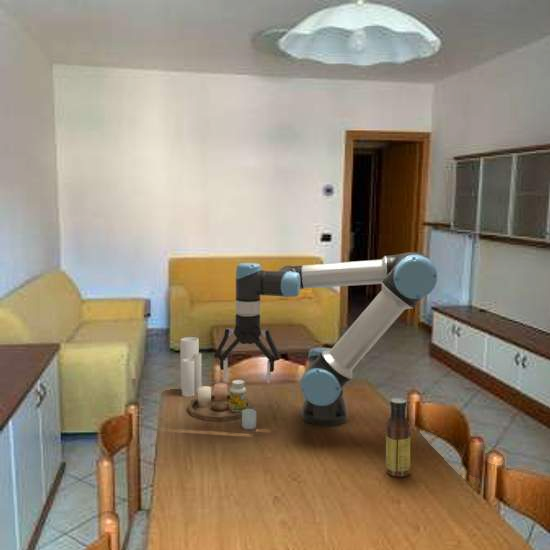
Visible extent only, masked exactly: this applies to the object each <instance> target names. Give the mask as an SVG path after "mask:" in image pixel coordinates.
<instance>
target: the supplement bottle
mask: <svg viewBox="0 0 550 550" xmlns="http://www.w3.org/2000/svg"><path fill="white" fill-rule="evenodd" d="M231 386H232V387H230V390H229V394H230V410H231V411H233V412H242V411H243V410H245V409H246V398H247V388H246V387H245V381H244V380H241V379H236V380H235V379H234V380H232V382H231Z"/></svg>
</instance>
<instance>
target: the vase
mask: <svg viewBox="0 0 550 550" xmlns="http://www.w3.org/2000/svg"><path fill="white" fill-rule="evenodd" d="M199 340H200V339H199V338H198V337H195V336H192V337H191V336H186V337H181V338H180V340H179V342H180V343H179V344H180V355H179V357H180V359H179V360H180V365H179V366H180V391H181V396H182V397H186V398H189V397H190V398H191V397H193V396H195V394H198V388H199V387H201V386H203V385H202V384H203V383H202V353H201V352H199V351H200V350H199V349H200V348H199V347H200V346H199V345H200V343H199Z"/></svg>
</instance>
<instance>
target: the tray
mask: <svg viewBox="0 0 550 550" xmlns="http://www.w3.org/2000/svg"><path fill="white" fill-rule="evenodd" d="M186 407H187V408H186V410H187V412H188V413H189V414H190V415H191V417H194V418H196V419H200V420H202V421H211V422H212V421H213V422H224V421H225V422H226V421H233V420H239V419H242V412H233V411H231V410H230V393H227V402H226V401H214V394H211V406H210V407H206V408H202V407H199V406H198V397H197V398H193V399H191V400H190V402H189V403H188V404H187V406H186ZM246 409H253V403H252V402H251V401H250V400H249V399H248V398H247V397H246Z"/></svg>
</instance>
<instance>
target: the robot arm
mask: <svg viewBox="0 0 550 550" xmlns="http://www.w3.org/2000/svg"><path fill="white" fill-rule="evenodd" d="M235 270H236V273H235V313H236V314H235V322H234V324H235V327H234V329H233V328H230V327H226V329H225V330H224V335H223V337H222V340H221V342H220V343H219V346H218V347H217V349H216V351H215V353H214V355H213V357H214V358H215V359H219V363H220V365H219V366H220V367H219V368H220V370H222V371H223V379H222V380H223V382H227V380H228V357H227V356H228V355H229V354H230V353H231V352H232V350H234V348H235V347H236V346H237V345H238V344H239V343H241V344H242V345H245V344H248V345H253V344H255V345H256V346H257V347H258V348H259V350H260V351H261V352H262V354H263V355H264V356H265V357H266V358H267V366H266V367H267V371H266V372H267V373H266V377H267V378H266V379H267V380H266V383H267V384H270V383H271V374H272V373H274V372H275V362H276V361H280V358H281V355H280V353H279V351H278V348H277V347H276V345H275V342H274V340H273V339H272V336H271V330H270V329H269V328H266V329H261V315H260V313H261V296H268V297H269V296H270V297H284V298H292V297H293V298H294V297H298V296H299V295H300V292H301V290H302V289H303V290H305V289H315V288H334V287H348V286H365V285H366V286H367V285H380V284H381V291H380V292H378V294H376V296H375V297H374V298H373V300H372V301H371V302H370V303H369V305H368V306H367V307H366V308H365V309H364V310H363V311H362V312H361V314H360V315H359V316H358V317H357V319H356V320H355V321H354V322H353V323H352V324H351V325H350V327H349V328H348V329H347V330H346V331H345V332H344V334H342V336H341V337H340V338H339V340H338V341H337V342H336V343H335V344H334V346H333V347H331V348H330V347H315V348H310V349H309V351H308V356H307V358H308V363H307V368H306V369H305V371H304V374H303V375H302V376H301V380H300V390H301V393H302V395H303V396H304V398H305V401H304V403H303V406H302V409H301V418H302V419H303V421H305V422H307V423H309V424H313V425H315V426H326V427H329V426H330V427H331V426H333V427H334V426H339V425H342V424H344V423H346V422H347V420H349V419H348V418H349V412H348V406H347V404H346V401H345V397H344V387H346V385H347V384H348V383H349V382H350V381H351V380H352V378H353V377H354V375H353V374H354V373H353V369H354V368H355V367H356V366H357V365H358V364H359V362H360V361H362V359H363V358H364V357H365V356H366V354H367V353H369V351H370V350H371V349H372V348H373V346H374V345H375V344H376V343H377V342H378V341H379V340H380V339H381V338H382V336H383V335H385V333H386V331H388V329H389V328H390V327H391V326H392V325H393V324H394V322H395V321H396V320H397V319H398V318H399V317H400V316H401V314H403V312H404V311H405V310H409V309H412V310H413V309H415V308H414V307H416V305H418V303H419V302H421V300H422V299H423V298H425V297H427V296H428V295H429V294H431V293H432V292H433V290H434V289H435V287H436V285H437V282H438V281H437V280H438V271H437V268H436V266H435V264H434V263H433V262H432V261H431V259H430V258H428V257H427V256H426V255H425V254H423V253H421V252H419V251H418V252H417V251H409V252H404V253H399V254H393V255H392V254H391V255H384V256H383V257H382V258H381V259H371V260H370V259H369V260H356V261H355V260H354V261H343V262H330V263H317V264H315V263H314V264H304V265H283V266H282V267H281V268H279V270H263V269H262V266H261V264H260V263H257V262H256V263H255V262H241V263H239V264H237V266H236V269H235ZM233 334H234V336H235V337H236V338H235V340H234V341H232V343H231V344H230V345H229V346H228V347H227V349H226V350H225V351H224V352H223V353H221V352H222V350H223V348H224V346H225V345H226V343H227V342H228V339H229V337H231V336H232V335H233ZM261 335H263V337H264V338H265V339H266V342H267V344H268V346H269V348H270V350H271V352H272V353H271V352H270V350H269V349H268V348H267V347H266V346H265V344H264V343H263V342H262V340H261V339H260V337H261Z"/></svg>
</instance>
